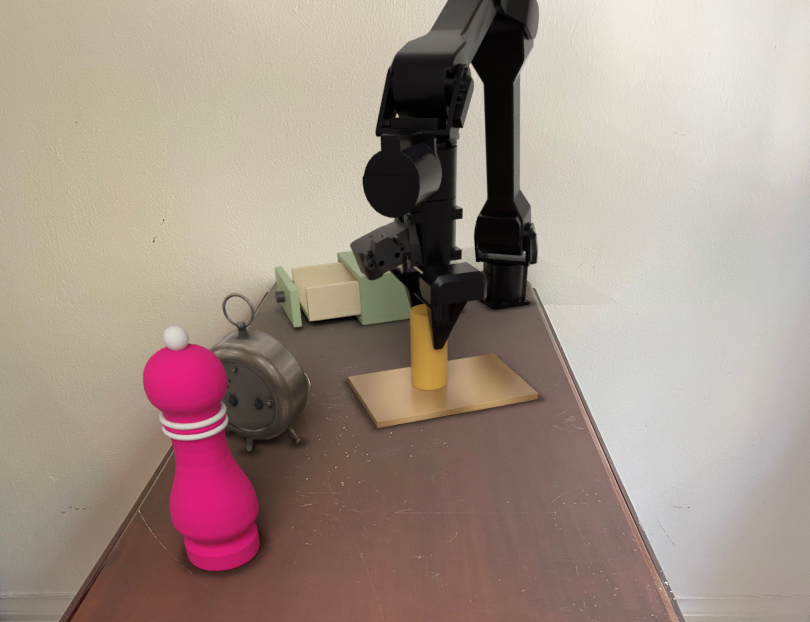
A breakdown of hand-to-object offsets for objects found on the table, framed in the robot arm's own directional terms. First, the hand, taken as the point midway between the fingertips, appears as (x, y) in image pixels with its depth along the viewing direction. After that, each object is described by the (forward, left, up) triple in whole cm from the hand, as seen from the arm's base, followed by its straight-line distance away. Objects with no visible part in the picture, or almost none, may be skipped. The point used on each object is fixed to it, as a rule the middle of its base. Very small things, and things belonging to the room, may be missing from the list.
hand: (429, 340), depth 82 cm
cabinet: (-6, -31, -6) cm, 32 cm away
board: (-1, +1, -6) cm, 6 cm away
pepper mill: (+28, +24, -6) cm, 37 cm away
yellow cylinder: (0, 0, -5) cm, 5 cm away
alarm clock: (+22, +6, -6) cm, 24 cm away
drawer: (+5, -31, -5) cm, 32 cm away
